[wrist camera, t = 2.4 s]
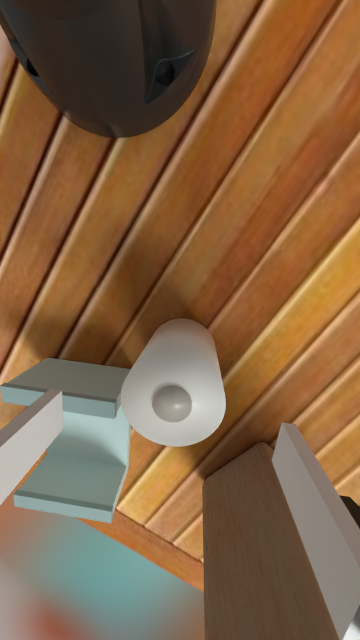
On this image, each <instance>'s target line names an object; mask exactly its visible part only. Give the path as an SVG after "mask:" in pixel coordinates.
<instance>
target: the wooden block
mask: <svg viewBox="0 0 360 640" xmlns="http://www.w3.org/2000/svg"><path fill="white" fill-rule="evenodd" d="M273 454H274V450H273V449H272V448H271V447H270V446H269V445H268V444H266V443H264V442H261V443H257V444H256V445H254V446H253V447H251V448H250V449H249V450H247V451H246V452H244V453H243V454H241V455H240V456H238V457H237V458H235V459H234V460H232V461H231V462H230V463H228V464H227V465H225V466H224V467H222V468H221V469H219V470H218V471H216V472H215V473H213V474H212V475H211V476H209V477H208V478H206V480H205V481H204V483H203V487H202V491H203V552H204V613H205V640H339V637H338V634H337V632H336V629H335V627H334V624H333V621H332V619H331V616H330V613H329V611H328V608H327V605H326V603H325V600H324V598H323V595H322V592H321V590H320V587H319V584H318V582H317V579H316V576H315V574H314V571H313V569H312V566H311V563H310V561H309V558H308V555H307V553H306V550H305V548H304V545H303V542H302V540H301V537H300V534H299V532H298V529H297V526H296V524H295V521H294V519H293V516H292V513H291V511H290V508H289V505H288V503H287V500H286V497H285V495H284V492H283V490H282V487H281V484H280V482H279V479H278V476H277V474H276V471H275V468H274V466H273V463H272V458H273Z"/></svg>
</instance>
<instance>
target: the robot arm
mask: <svg viewBox="0 0 360 640" xmlns="http://www.w3.org/2000/svg"><path fill="white" fill-rule="evenodd" d="M215 15H216V0H0V25H1V27H2V29H3V31H4V32H5V34H6V36H7V38H8V40H9V42H10V44H11V47H12V48H13V50H14V52H15V54H16V56H17V58H18V60H19V61H20V63H21V65H22V66H23V68H24V70H25V71H26V73H27V74H28V75H29V77H30V78H31V80H32V81H33V82H34V84H35V85H36V86H37V87H38V89H39V90H40V91H41V92H42V93H43V94H44V95H45V96H46V97H47V99H48V100H49V101H50V102H51V103H52V104H53V105H54V106H55V107H56V108H57V109H58V110H59V111H60V112H61V113H62V114H63V115H64V116H65V117H66V118H67V119H69V120H70V121H71V122H73V123H74V124H76V125H77V126H79V127H80V128H82V129H84V130H86V131H89V132H91V133H94V134H97V135H101V136H105V137H115V138H121V137H131V136H135V135H139V134H142V133H145V132H147V131H150V130H152V129H154V128H155V127H157V126H159V125H160V124H162V123H163V122H165V121H166V120H167V119H169V118H170V117H171V116H172V115H173V114H174V113H175V112H176V111H177V110H178V109H179V108H180V107H181V106H182V105H183V103H184V102H185V101H186V100H187V98H188V97H189V95H190V94H191V92H192V91H193V89H194V88H195V86H196V84H197V82H198V80H199V78H200V76H201V74H202V72H203V69H204V67H205V64H206V61H207V58H208V55H209V51H210V48H211V44H212V39H213V33H214V26H215ZM62 430H63V408H62V391H61V390H54V389H49V390H48V391H47V392H45V393H44V394H43V395H42V396H41V397H39V398H38V399H37V400H36V401H35V402H33V403H32V404H31V405H30V406H29V407H27V408H26V409H25V410H24V411H23V412H21V413H20V414H19V415H18V416H17V417H15V418H14V419H13V420H12V421H11V422H9V423H8V424H7V425H6V426H5V427H3V428H2V429H1V430H0V505H1V504H2V502H3V501H4V500H5V499H6V497H7V496H8V495H9V494H10V493H11V491H12V490H13V489H14V488H15V487H16V485H17V484H18V483H19V482H20V481H21V479H22V478H23V477H24V476H25V474H26V473H27V472H28V471H29V470H30V468H31V467H32V466H33V465H34V464H35V462H36V461H37V460H38V459H39V457H40V456H41V455H42V454H43V453H44V451H45V450H46V449H47V448H48V447H49V445H50V444H51V443H52V442H53V440H54V439H55V438H56V437H57V436H58V434H59V433H60V432H61V431H62ZM272 463H273V466H274V468H275V471H276V474H277V476H278V479H279V482H280V484H281V487H282V490H283V492H284V495H285V497H286V500H287V503H288V505H289V508H290V511H291V513H292V516H293V519H294V521H295V524H296V526H297V529H298V532H299V534H300V537H301V540H302V542H303V545H304V548H305V550H306V553H307V555H308V558H309V561H310V563H311V566H312V569H313V571H314V574H315V576H316V579H317V582H318V584H319V587H320V590H321V592H322V595H323V598H324V600H325V603H326V605H327V608H328V611H329V613H330V616H331V619H332V621H333V624H334V627H335V629H336V632H337V634H338V637H339V640H360V507H359V506H358V505H357V504H356V503H355V502H354V501H353V500H352V499H351V498H350V497H346V496H340V495H338V493H337V491H336V490H335V488H334V486H333V485H332V483H331V482H330V480H329V478H328V477H327V475H326V473H325V472H324V470H323V469H322V467H321V465H320V464H319V462H318V460H317V459H316V457H315V456H314V454H313V452H312V451H311V449H310V447H309V446H308V444H307V443H306V441H305V439H304V438H303V436H302V435H301V433H300V431H299V430H298V428H297V426H296V425H295V424H289V423H281V427H280V431H279V435H278V439H277V442H276V446H275V450H274V454H273V458H272Z"/></svg>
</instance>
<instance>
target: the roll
mask: <svg viewBox="0 0 360 640" xmlns="http://www.w3.org/2000/svg"><path fill="white" fill-rule="evenodd" d="M121 405H122V409H123V412H124V415H125V417H126V419H127V420H128V422H129V423H130V425H131V426H132V427H133V428H134V429H135V430H136V431H137V432H138V433H139V434H141V435H142V436H143V437H145V438H147V439H148V440H150V441H153V442H155V443H158V444H161V445H166V446H173V447H180V446H188V445H192V444H195V443H198V442H200V441H202V440H204V439H206V438H207V437H209V436H210V435H211V434H212V433H213V432H214V431H215V430H216V429H217V428H218V427H219V425H220V423H221V422H222V419H223V417H224V414H225V409H226V398H225V392H224V387H223V382H222V377H221V372H220V367H219V362H218V357H217V352H216V347H215V342H214V339H213V337H212V335H211V334H210V332H209V331H208V330H207V329H206V328H205V327H204V326H203V325H202V324H200V323H198V322H196V321H194V320H191V319H185V318H178V319H172V320H169V321H167V322H165V323H163V324H162V325H161V326H160V327H158V328H157V330H156V331H155V332H154V334H153V335H152V337H151V339H150V340H149V342H148V343H147V345H146V346H145V348H144V350H143V351H142V353H141V354H140V356H139V358H138V359H137V361H136V362H135V364H134V365H133V367H132V369H131V370H130V372H129V373H128V375H127V377H126V378H125V380H124V382H123V385H122V389H121Z"/></svg>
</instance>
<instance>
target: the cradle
mask: <svg viewBox="0 0 360 640" xmlns="http://www.w3.org/2000/svg"><path fill="white" fill-rule="evenodd" d="M130 370H131V369H126V368H119V367H112V366H105V365H98V364H91V363H83V362H76V361H69V360H62V359H55V358H46V359H44V360H43V361H41V362H39V363H38V364H36V365H35V366H33V367H31V368H30V369H28V370H27V371H25V372H23V373H22V374H20V375H19V376H17V377H16V378H14V379H12V380H11V381H9V382H8V383H4V384H2V385H1V386H0V392H1V400H2V402H5V403H12V404H19V405H25V406H30V405H31V404H32V403H33V402H35V401H36V400H37V399H38V398H39V397H41V396H42V395H43V394H44V393H45V392H47V391H48V390H49V389H54V390H61V391H62V408H63V430H62V431H61V432H60V433H59V434H58V436H57V437H56V438H55V439H54V440H53V442H52V443H51V444H50V445H49V447H48V448H47V454H46V456H45V457H44V458H43V459H42V461H41V462H40V463H39V465H38V466H37V467H36V468H35V470H34V471H33V472H32V473H31V475H30V476H29V477H28V478H27V480H26V481H25V482H24V483H23V485H22V486H21V487H20V488H19V490H17V491H16V492H15V493H14V495H13V496H14V504H15V506H16V507H22V508H28V509H33V510H39V511H45V512H51V513H56V514H61V515H67V516H73V517H78V518H84V519H90V520H95V521H101V522H106V523H111V522H112V519H113V513H114V510H115V507H116V504H117V501H118V498H119V495H120V492H121V489H122V486H123V483H124V480H125V477H126V475H127V472H128V469H129V452H130V434H131V425H130V423H129V422H128V420H127V419H126V417H125V415H124V412H123V409H122V405H121V389H122V385H123V382H124V380H125V378H126V377H127V375H128V373H129V372H130Z"/></svg>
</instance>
